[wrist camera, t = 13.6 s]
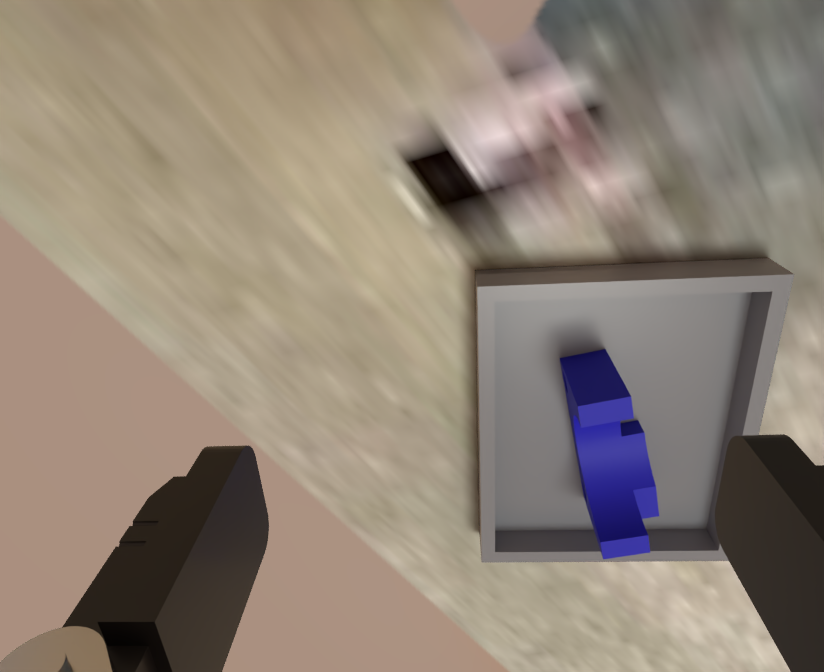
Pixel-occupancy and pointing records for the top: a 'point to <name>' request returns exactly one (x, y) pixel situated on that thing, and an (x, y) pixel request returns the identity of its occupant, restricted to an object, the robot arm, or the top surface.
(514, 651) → the top surface
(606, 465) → the blue curved block
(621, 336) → the tray
